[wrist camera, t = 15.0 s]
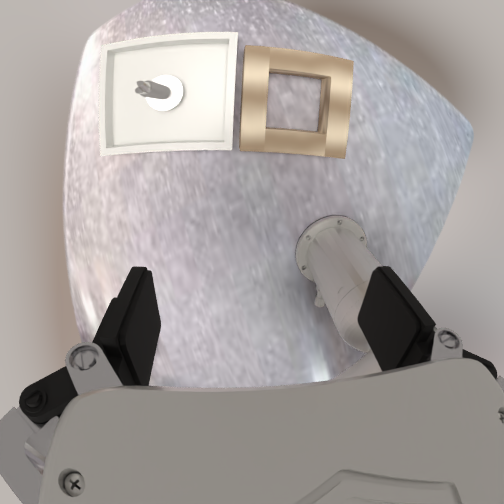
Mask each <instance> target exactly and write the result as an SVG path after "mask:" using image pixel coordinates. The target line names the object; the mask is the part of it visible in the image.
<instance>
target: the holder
mask: <svg viewBox="0 0 504 504" xmlns="http://www.w3.org/2000/svg"><path fill="white" fill-rule="evenodd" d="M353 62H354V61H351V60H347V59H343V58H338V57H333V56H329V55H323V54H318V53H312V52H306V51H300V50H292V49H284V48H275V47H264V46H250V45H246V46H245V49H244V57H243V74H242V93H241V113H240V135H239V149H240V151H257V152H276V153H291V154H304V155H315V156H325V157H334V158H342V159H345V155H346V146H347V138H348V129H349V119H350V108H351V95H352V81H353ZM269 73H276V74H286V75H295V76H302V77H309V78H316V79H322V81H321V96H320V109H319V121H318V132H314V131H305V130H295V129H284V128H270V127H266V113H267V96H268V79H269Z"/></svg>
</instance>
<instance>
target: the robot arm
mask: <svg viewBox="0 0 504 504" xmlns="http://www.w3.org/2000/svg"><path fill="white" fill-rule="evenodd" d="M338 220H339V221H338ZM307 235H308V236H307ZM296 262H297V265H298V267H299V269H300V271H301V273H302V274H303V275H304V276H305V277H306V278H307V279H309V280H310V281H312V282H315V283H316V290H317V294H316V298H315V302H314V304H315V305H316V306H317V307H324V306H325V304H326V306H327V308H328V310H329V312H330V315H331V317H332V319H333V322H334V324H335V326H336V328H337V331H338V333H339V335H340V336H341V338H342V339H343V340H344V341H345V342H346V343H347V344H348V345H349V346H351V347H353V348H354V349H356V350H359V351H362V352H365V353H367V354H366V355H365V356H364V357H362V358H361V359H360V360H358V361H357V362H356V363H355V364H354V365H352V366H351V367H349V368H348V369H346V370H345V371H343V372H342V373H340V374H339V375H337V376H336V377H334V378H333V379H331V380H328V381H321V382H312V383H303V384H292V385H280V386H264V387H240V388H190V387H163V386H149V381H150V376H151V371H152V366H153V361H154V356H155V351H156V347H157V342H158V338H159V333H160V329H161V320H160V315H159V310H158V305H157V300H156V294H155V288H154V283H153V277H152V272H151V271H149V270H147V268H146V267H132V268H131V270H130V272H129V274H128V276H127V278H126V280H125V282H124V284H123V286H122V288H121V290H120V292H119V295H118V297H117V298H113V299H112V301H111V302H110V304H109V307H108V309H107V311H106V313H105V315H104V317H103V319H102V322H101V324H100V326H99V328H98V331H97V333H96V335H95V337H94V340H93V342H92V343H91V342H83V343H80V344H77V345H76V346H74V347H72V348H71V349H70V350H69V351H68V353H67V355H66V359H65V362H66V366H65V367H63V368H61V369H60V370H58V371H56V372H54V373H52V374H50V375H48V376H47V377H45V378H43V379H41V380H39V381H37V382H35V383H33V384H31V385H30V386H28V387H26V388H25V389H24V390H23V392H22V393H21V396H20V400H19V404H20V406H19V407H18V408H17V409H16V408H15V407H13V408H12V409H11V410H10V411H9V412H8V413H7V414H6V415H5V416H4V417H3V418H2V419H1V420H0V474H1V476H2V477H3V478H4V480H5V481H6V483H7V484H8V485H9V487H10V488H11V489H12V491H13V492H14V493H15V495H16V496H17V497H18V498H19V500H20V501H21V502H22V503H23V504H504V379H503V378H502V377H501V376H499V377H498V378H497V371H496V369H495V367H494V365H493V364H492V363H491V362H490V361H488V360H486V359H484V358H481V357H479V356H477V355H475V354H472V353H470V352H468V351H466V350H464V349H462V346H463V345H462V340H461V338H460V337H459V335H458V334H457V333H455V332H454V331H452V330H450V329H447V328H440V329H437V328H436V327H435V325H436V324H435V322H434V321H433V320H432V318H431V317H430V316H429V314H428V313H427V312H426V311H425V309H424V308H423V306H422V305H421V304H420V303H419V301H418V300H417V299H416V298H415V296H414V295H413V294H412V293H411V291H410V290H409V289H408V288H407V286H406V285H405V284H404V283H403V282H402V280H401V279H400V278H399V277H398V276H397V274H396V273H395V272H394V271H393V270H392V269H391V267H389V266H382V265H381V264H380V263H379V262H378V260H377V259H376V258H375V257H374V256H373V254H372V253H371V252H370V251H369V250H368V249H367V239H366V235H365V233H364V231H363V229H362V228H361V227H360V226H359V225H358V224H357V223H356V222H355V221H353V220H352V219H350V218H347V217H344V216H329V217H325V218H322V219H320V220H318V221H316V222H315V223H313V224H312V225H310V226H309V227H308V228H307V229H306V230H305V231H304V233H303V234H302V236H301V237H300V239H299V241H298V244H297V248H296Z"/></svg>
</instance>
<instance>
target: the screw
mask: <svg viewBox="0 0 504 504" xmlns="http://www.w3.org/2000/svg"><path fill="white" fill-rule="evenodd" d="M136 83H137V85H138V87H137V88H136V89H135V92H136V93H138V94H140V95H141V96H143V97H146V98H147V101H148V103H149V105H150V106H151V107H152V108H154V109H156V110H160V111H165V110H169V109H172V108H174V107H175V106H176V105H177V104H178V103H179V102H180V101H181V99H182V96H183V87H182V84H181V82H180V81H179V80H178V79H177V78H175V77H173V76H169V75H163V76H160V77H157V78H156V79H154V80H153V81H149V80H147V81H141V80H140V81H137V82H136Z"/></svg>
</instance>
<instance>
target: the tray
mask: <svg viewBox="0 0 504 504" xmlns="http://www.w3.org/2000/svg"><path fill="white" fill-rule="evenodd" d="M237 41H238V32H196V33H179V34H168V35H159V36H151V37H143V38H137V39H131V40H125V41H120V42H115V43H110V44H106V45H102V46H101V56H100V71H99V143H100V156H107V155H117V154H128V153H141V152H158V151H182V150H232V139H233V115H234V93H235V74H236V57H237ZM163 75H169V76H173V77H175V78H177V79H178V80H179V81H180V82H181V84H182V87H183V96H182V99H181V101H180V102H179V103H178V104H177V105H176V106H175V107H174V108H172V109H169V110H165V111H160V110H156V109H154V108H152V107H151V106H150V105H149V103H148V101H147V98H146V97H143V96H141V95H140V94H138V93H136V92H135V89H136V88H137V87H138V85H137V83H136V82H137V81H140V80H141V81H147V80H149V81H153V80H154V79H156V78H157V77H160V76H163Z"/></svg>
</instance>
